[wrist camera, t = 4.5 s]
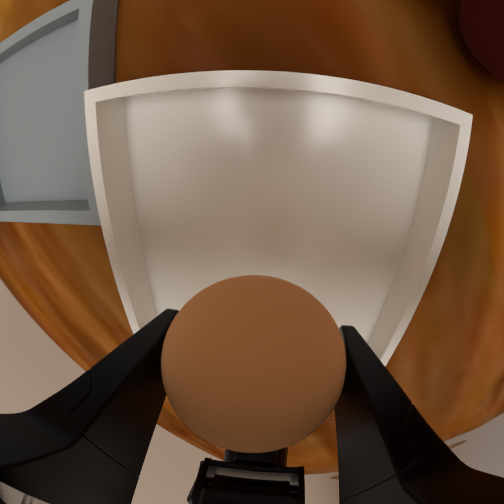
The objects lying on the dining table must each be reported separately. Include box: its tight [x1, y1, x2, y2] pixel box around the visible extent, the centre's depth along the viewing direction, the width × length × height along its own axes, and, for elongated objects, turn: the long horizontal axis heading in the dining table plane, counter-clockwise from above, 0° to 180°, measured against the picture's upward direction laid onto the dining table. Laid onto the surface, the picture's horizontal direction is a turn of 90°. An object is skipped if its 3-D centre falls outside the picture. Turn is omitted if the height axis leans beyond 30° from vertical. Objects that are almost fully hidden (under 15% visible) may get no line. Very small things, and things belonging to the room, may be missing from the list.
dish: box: [84, 70, 473, 366], centre depth 13 cm, size 15×15×3 cm
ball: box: [161, 275, 346, 453], centre depth 7 cm, size 5×5×5 cm
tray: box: [0, 0, 118, 226], centre depth 11 cm, size 12×12×2 cm
